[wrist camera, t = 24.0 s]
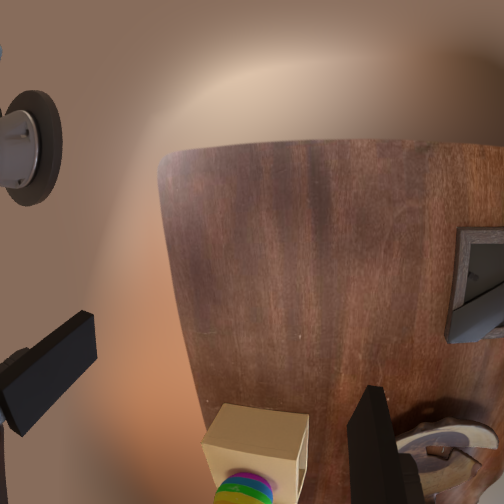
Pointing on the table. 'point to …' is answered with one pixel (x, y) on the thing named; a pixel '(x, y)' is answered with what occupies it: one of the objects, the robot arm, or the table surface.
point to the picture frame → (477, 286)
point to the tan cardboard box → (259, 448)
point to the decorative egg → (244, 490)
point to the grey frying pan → (443, 434)
